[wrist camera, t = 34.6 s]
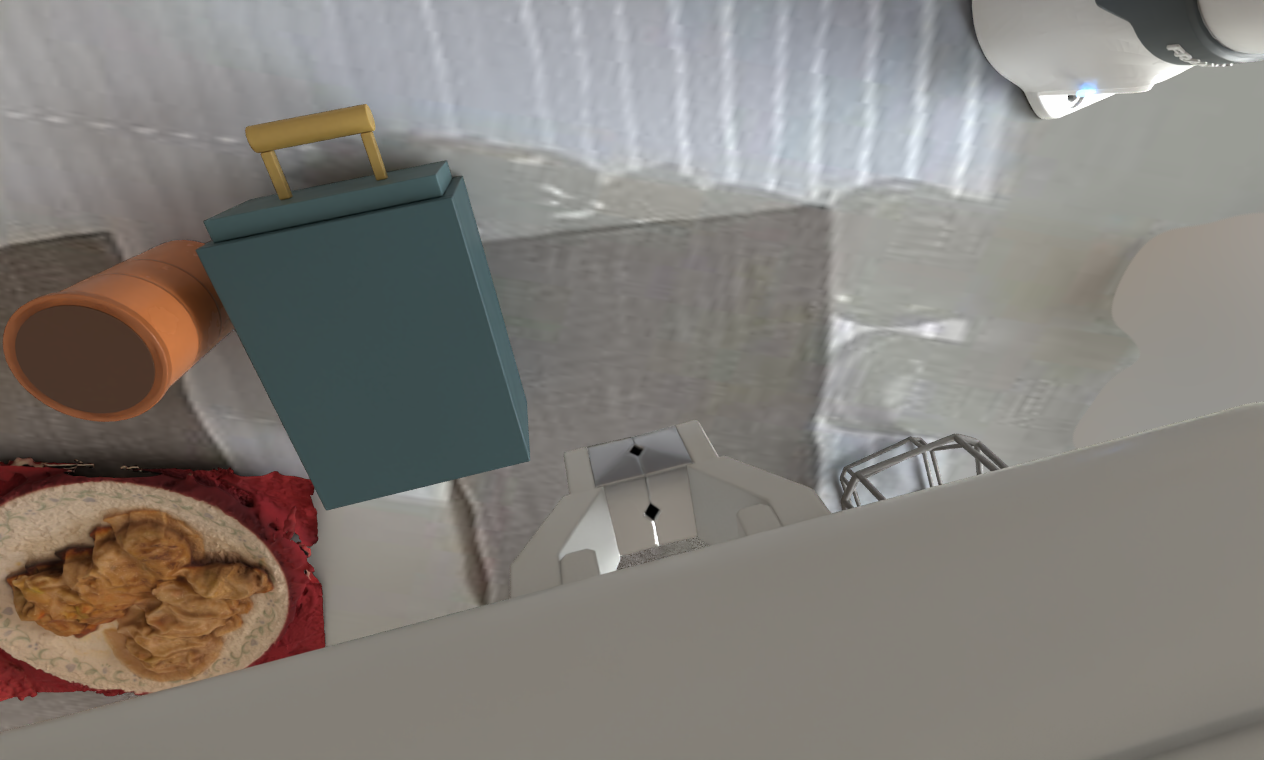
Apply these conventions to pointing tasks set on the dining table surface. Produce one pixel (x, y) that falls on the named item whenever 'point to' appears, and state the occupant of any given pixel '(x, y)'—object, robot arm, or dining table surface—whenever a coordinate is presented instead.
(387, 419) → the cabinet
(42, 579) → the plate with food
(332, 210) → the drawer
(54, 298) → the orange lidded canister
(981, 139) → the dining table surface
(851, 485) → the geometric lantern
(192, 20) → the dining table surface
